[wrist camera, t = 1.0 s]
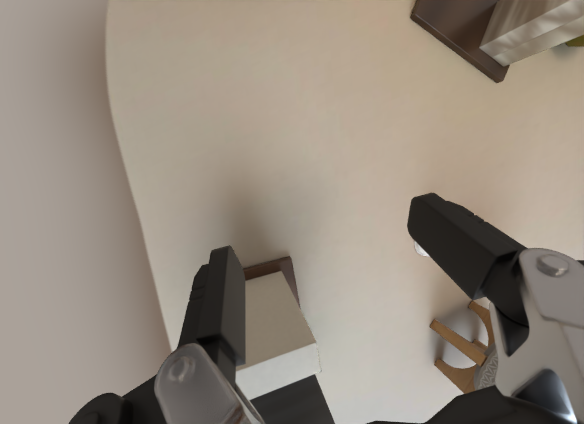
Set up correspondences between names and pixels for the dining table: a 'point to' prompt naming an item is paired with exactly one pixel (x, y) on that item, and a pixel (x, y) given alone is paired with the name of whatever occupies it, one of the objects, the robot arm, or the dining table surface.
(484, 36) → the white book stand
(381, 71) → the dining table surface
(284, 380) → the white book
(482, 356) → the planter
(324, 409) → the grey book stand
